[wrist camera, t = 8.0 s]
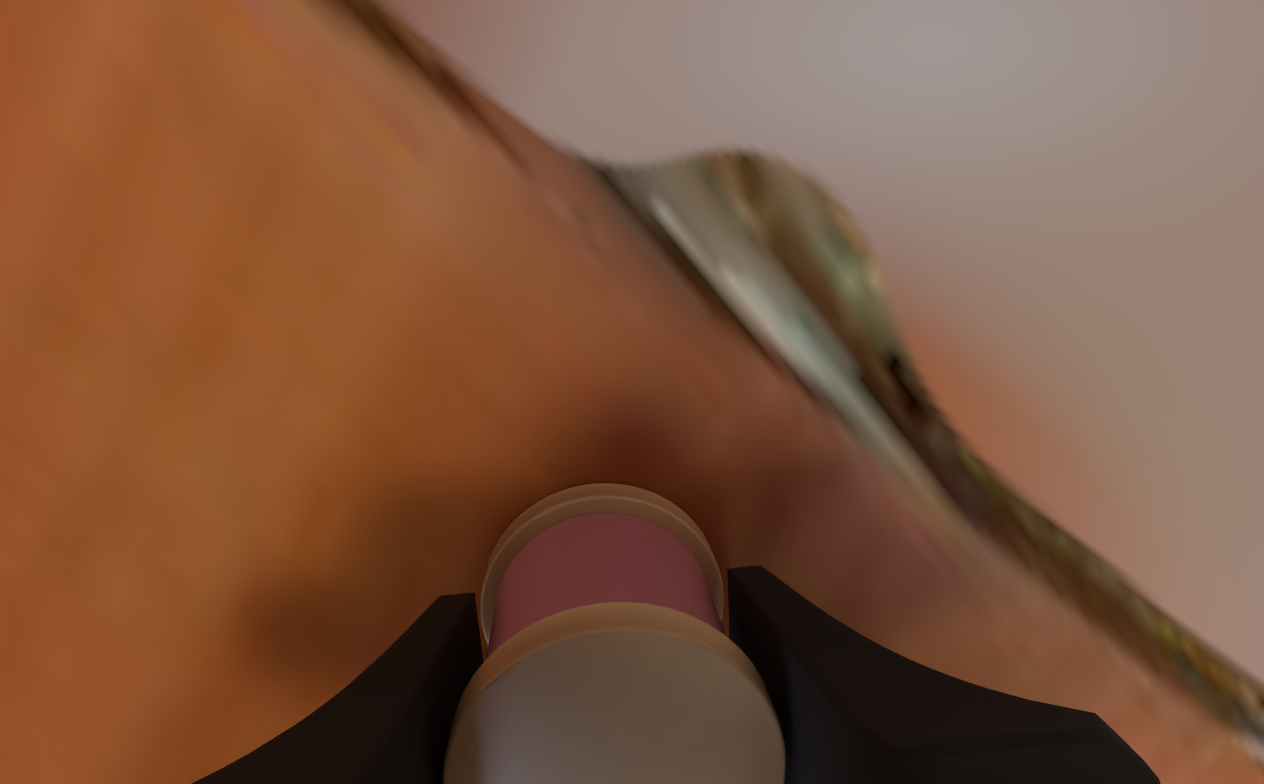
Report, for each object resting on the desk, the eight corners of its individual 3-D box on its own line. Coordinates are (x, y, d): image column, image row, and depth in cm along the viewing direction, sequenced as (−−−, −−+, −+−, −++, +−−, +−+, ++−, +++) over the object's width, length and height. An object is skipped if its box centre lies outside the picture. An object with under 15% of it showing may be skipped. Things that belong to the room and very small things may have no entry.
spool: (721, 680, 16) (789, 898, 11) (497, 704, 15) (463, 938, 11) (713, 471, 14) (785, 612, 10) (470, 492, 14) (419, 647, 9)
